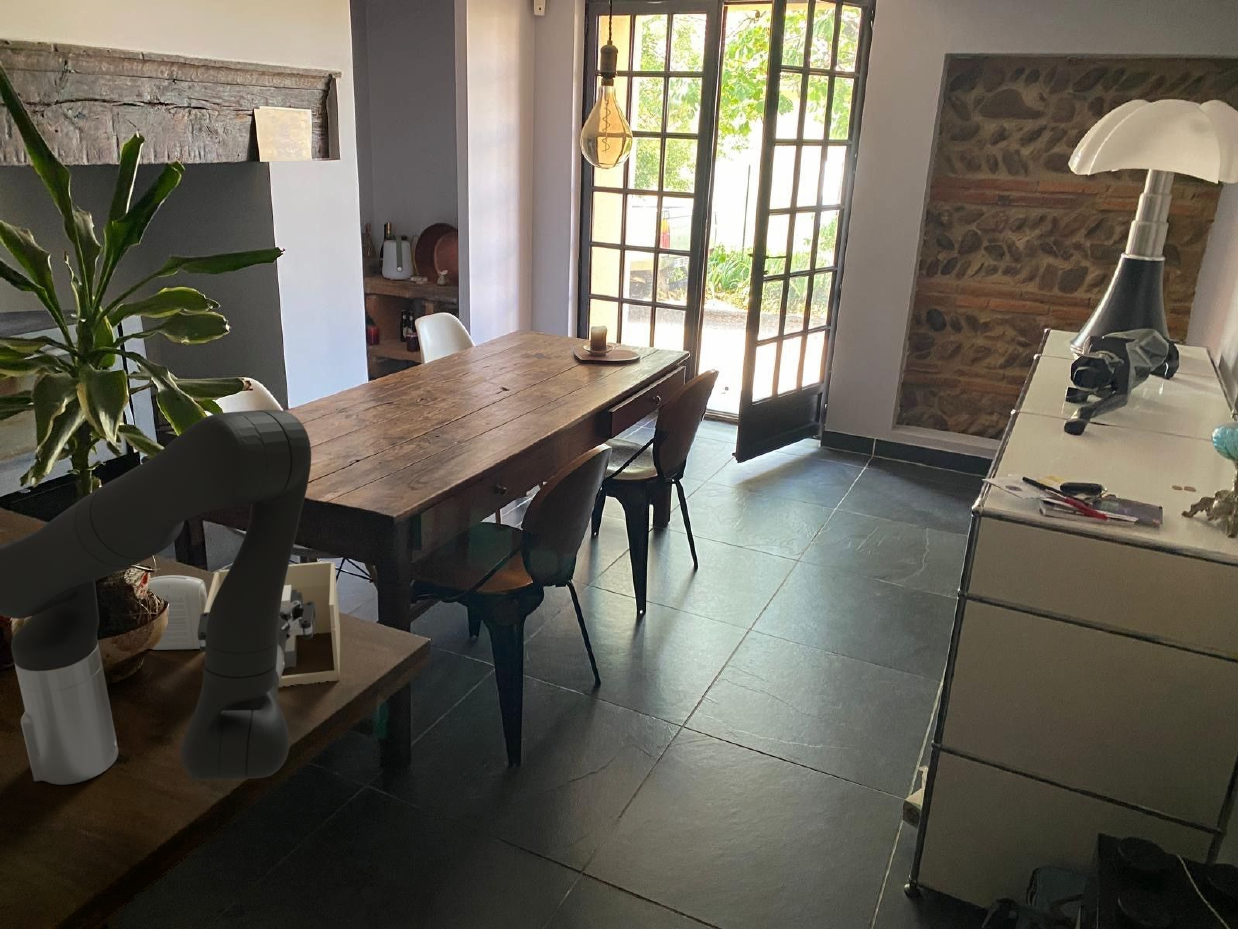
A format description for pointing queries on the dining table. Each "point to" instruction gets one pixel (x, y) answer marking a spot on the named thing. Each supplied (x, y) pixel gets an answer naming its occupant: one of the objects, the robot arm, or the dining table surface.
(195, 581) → the photo printer
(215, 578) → the storage bin
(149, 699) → the dining table surface
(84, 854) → the dining table surface
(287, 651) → the box
